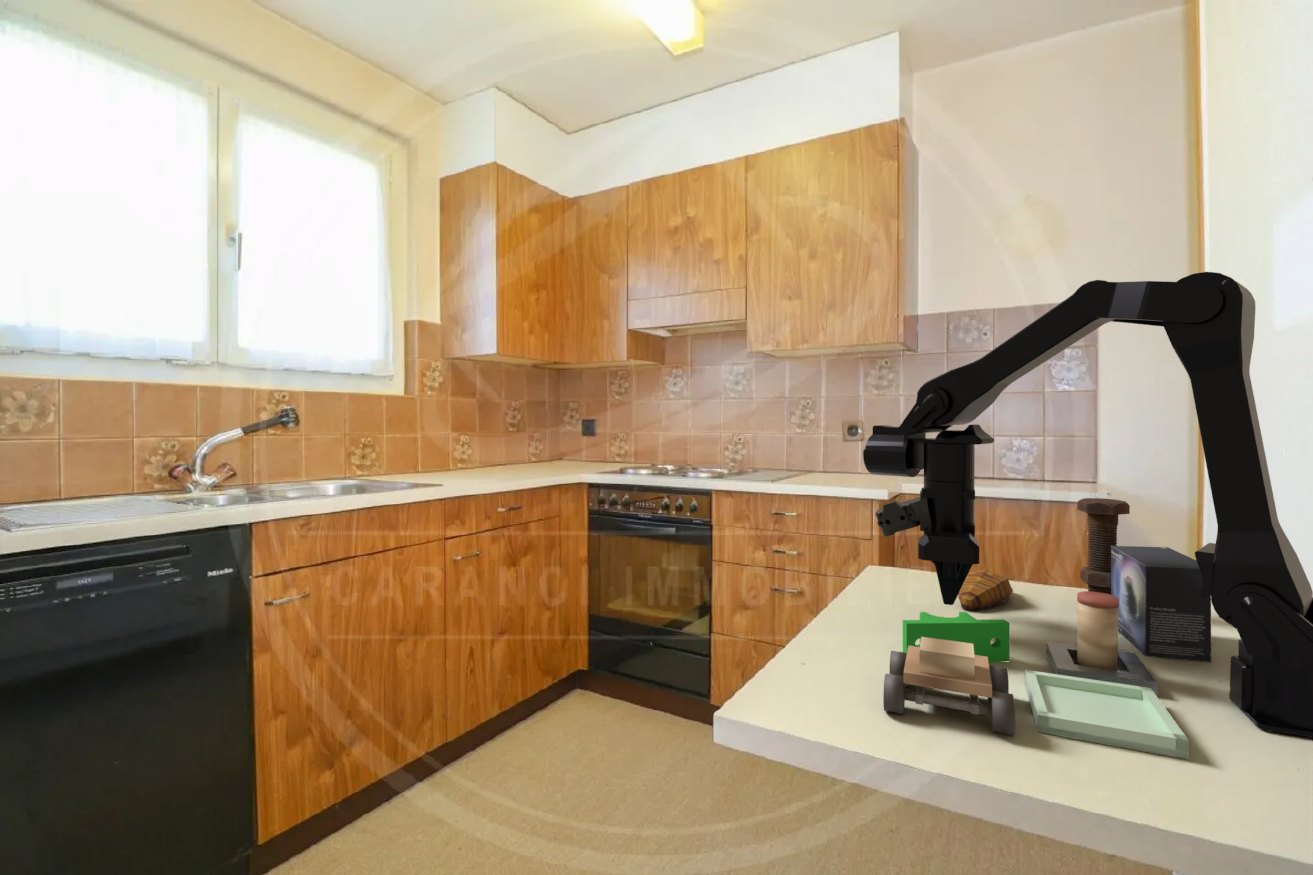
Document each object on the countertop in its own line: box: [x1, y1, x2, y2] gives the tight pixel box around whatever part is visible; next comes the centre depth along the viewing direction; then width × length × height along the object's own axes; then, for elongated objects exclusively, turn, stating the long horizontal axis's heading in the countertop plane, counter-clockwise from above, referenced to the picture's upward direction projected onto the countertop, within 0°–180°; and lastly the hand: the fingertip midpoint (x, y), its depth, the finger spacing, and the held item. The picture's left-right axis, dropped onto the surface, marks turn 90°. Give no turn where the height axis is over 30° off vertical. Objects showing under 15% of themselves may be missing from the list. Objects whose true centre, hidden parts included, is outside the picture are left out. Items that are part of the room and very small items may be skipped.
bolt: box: [1076, 497, 1131, 595], centre depth 83 cm, size 6×5×15 cm
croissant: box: [957, 568, 1014, 611], centre depth 87 cm, size 14×7×5 cm, turn 131°
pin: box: [1076, 590, 1119, 671], centre depth 63 cm, size 4×4×8 cm
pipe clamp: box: [902, 611, 1011, 663], centre depth 68 cm, size 11×4×5 cm, turn 89°
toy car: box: [882, 637, 1016, 736], centre depth 56 cm, size 10×9×6 cm
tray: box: [1024, 669, 1190, 760], centre depth 54 cm, size 10×10×2 cm
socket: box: [1045, 641, 1159, 697], centre depth 63 cm, size 8×8×1 cm
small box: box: [1111, 545, 1213, 663], centre depth 71 cm, size 11×6×10 cm, turn 161°
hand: (948, 603), depth 76 cm, fingers closed
